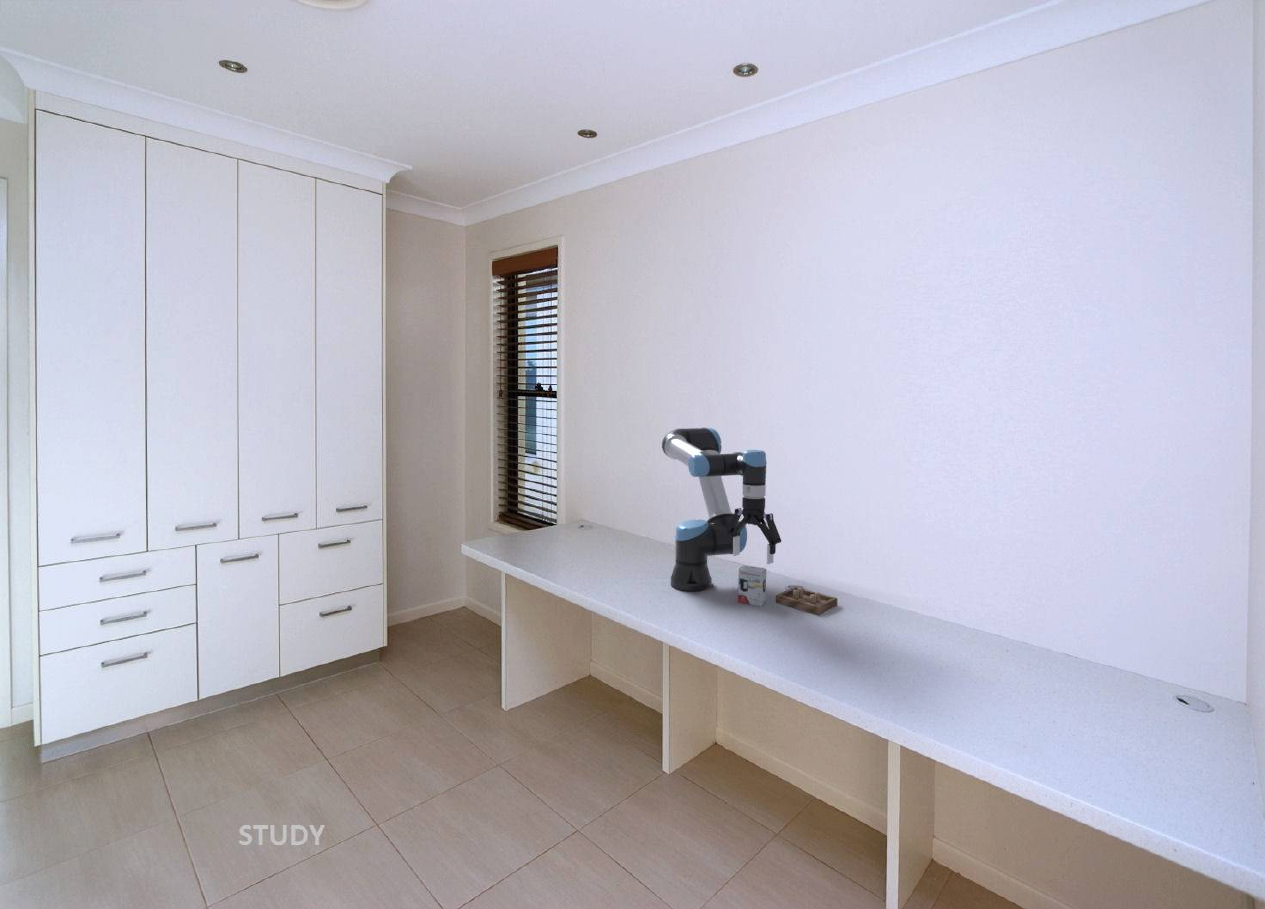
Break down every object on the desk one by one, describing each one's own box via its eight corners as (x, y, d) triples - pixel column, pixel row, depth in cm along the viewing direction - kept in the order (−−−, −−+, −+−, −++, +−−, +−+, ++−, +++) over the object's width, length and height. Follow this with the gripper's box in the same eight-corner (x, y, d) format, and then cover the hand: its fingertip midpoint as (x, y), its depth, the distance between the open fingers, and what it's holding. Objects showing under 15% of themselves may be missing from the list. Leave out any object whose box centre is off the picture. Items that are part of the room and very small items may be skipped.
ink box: (737, 602, 210) (737, 568, 208) (741, 597, 214) (742, 564, 212) (761, 606, 206) (762, 572, 204) (765, 602, 210) (766, 568, 208)
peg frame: (775, 602, 209) (776, 590, 209) (794, 593, 217) (795, 582, 217) (818, 615, 198) (819, 602, 197) (837, 605, 206) (837, 593, 206)
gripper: (717, 493, 211) (716, 554, 214) (780, 503, 194) (778, 569, 196) (730, 490, 217) (729, 549, 219) (793, 500, 199) (791, 564, 201)
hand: (752, 559), depth 208 cm, fingers open, 13 cm apart
